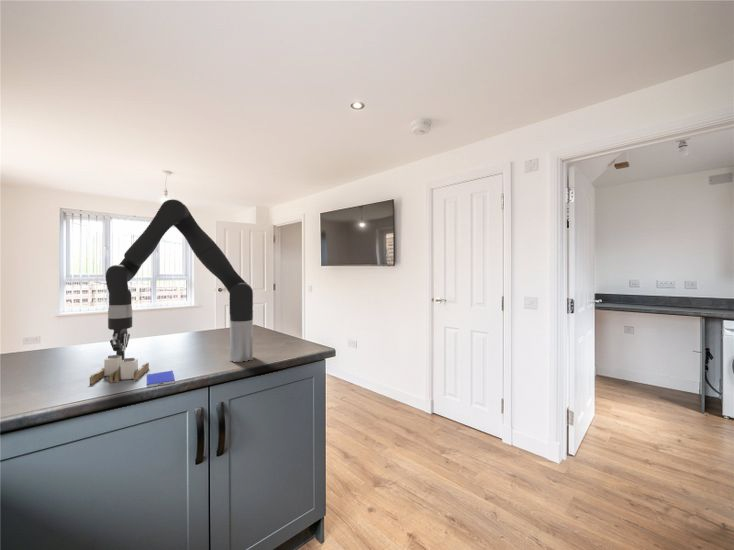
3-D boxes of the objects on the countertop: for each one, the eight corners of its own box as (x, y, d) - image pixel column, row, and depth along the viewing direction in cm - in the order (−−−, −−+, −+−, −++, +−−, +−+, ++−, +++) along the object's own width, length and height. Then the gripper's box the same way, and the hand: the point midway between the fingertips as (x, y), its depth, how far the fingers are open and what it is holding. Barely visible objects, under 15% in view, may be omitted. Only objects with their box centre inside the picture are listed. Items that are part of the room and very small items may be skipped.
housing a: (148, 368, 127) (148, 361, 127) (136, 380, 114) (136, 372, 114) (129, 370, 125) (129, 363, 125) (114, 382, 111) (114, 374, 111)
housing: (127, 370, 125) (127, 363, 124) (112, 382, 111) (112, 374, 111) (107, 372, 122) (107, 364, 122) (89, 384, 109) (89, 376, 109)
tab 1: (121, 371, 122) (121, 353, 122) (117, 374, 118) (117, 356, 118) (109, 372, 121) (109, 354, 121) (104, 375, 117) (104, 357, 117)
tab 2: (137, 374, 119) (137, 356, 118) (134, 378, 115) (134, 359, 115) (124, 376, 117) (124, 357, 117) (120, 379, 113) (120, 360, 113)
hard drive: (146, 374, 117) (146, 384, 107) (172, 370, 122) (175, 379, 112) (146, 378, 117) (146, 389, 107) (172, 374, 122) (175, 384, 112)
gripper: (125, 318, 121) (125, 364, 121) (137, 313, 133) (137, 355, 134) (101, 319, 118) (101, 366, 119) (115, 314, 131) (115, 356, 131)
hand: (120, 360), depth 126 cm, fingers closed
